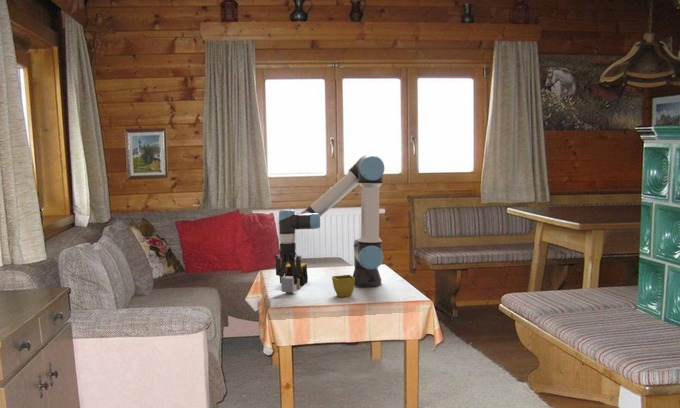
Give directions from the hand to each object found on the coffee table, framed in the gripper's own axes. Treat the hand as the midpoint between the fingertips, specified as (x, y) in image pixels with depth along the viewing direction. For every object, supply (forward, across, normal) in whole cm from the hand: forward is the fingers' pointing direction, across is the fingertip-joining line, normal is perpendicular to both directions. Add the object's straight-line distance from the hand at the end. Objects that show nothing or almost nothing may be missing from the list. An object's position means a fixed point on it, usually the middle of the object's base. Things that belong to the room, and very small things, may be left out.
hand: (289, 290), depth 303 cm
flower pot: (+2, -27, -4) cm, 27 cm away
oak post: (+1, +2, -10) cm, 10 cm away
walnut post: (+1, 0, 0) cm, 1 cm away
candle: (+2, +9, -22) cm, 24 cm away
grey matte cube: (0, 0, 0) cm, 0 cm away
